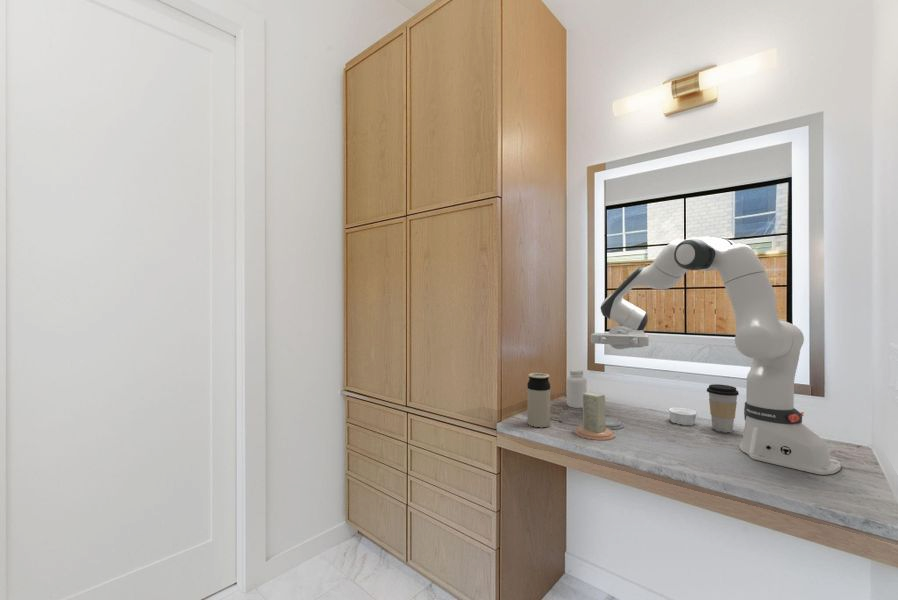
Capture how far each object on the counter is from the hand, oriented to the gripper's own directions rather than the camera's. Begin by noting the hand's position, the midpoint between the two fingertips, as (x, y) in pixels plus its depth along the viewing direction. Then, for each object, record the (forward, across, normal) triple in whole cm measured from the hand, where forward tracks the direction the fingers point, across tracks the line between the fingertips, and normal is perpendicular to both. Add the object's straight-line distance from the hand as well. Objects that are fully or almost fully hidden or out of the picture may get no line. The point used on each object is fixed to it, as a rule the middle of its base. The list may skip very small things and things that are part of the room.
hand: (618, 341), depth 151 cm
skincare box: (+15, -7, +29) cm, 33 cm away
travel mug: (+13, -26, +30) cm, 42 cm away
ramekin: (-12, +22, +30) cm, 39 cm away
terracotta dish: (+15, -7, +30) cm, 34 cm away
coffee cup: (-8, +33, +30) cm, 46 cm away
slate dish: (+2, -4, +30) cm, 30 cm away
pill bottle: (-19, -17, +30) cm, 39 cm away
